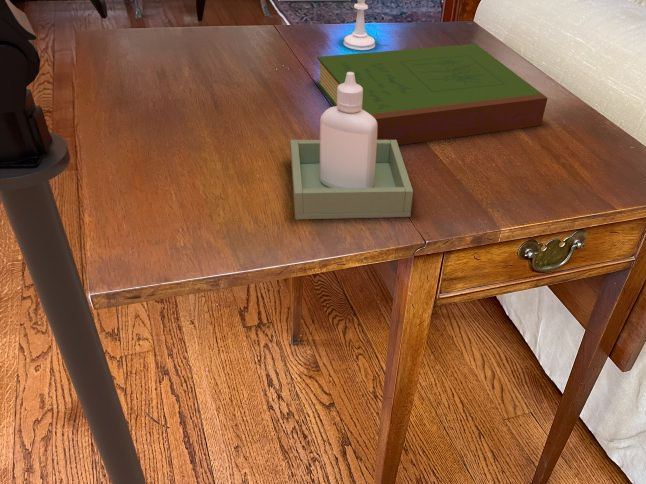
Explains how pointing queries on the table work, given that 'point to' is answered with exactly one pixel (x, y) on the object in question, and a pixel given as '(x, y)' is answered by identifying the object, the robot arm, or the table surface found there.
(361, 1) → the chess piece
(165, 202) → the table surface
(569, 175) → the table surface
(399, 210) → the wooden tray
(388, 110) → the hardcover book
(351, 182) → the eye dropper bottle
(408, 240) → the table surface
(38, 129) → the robot arm
